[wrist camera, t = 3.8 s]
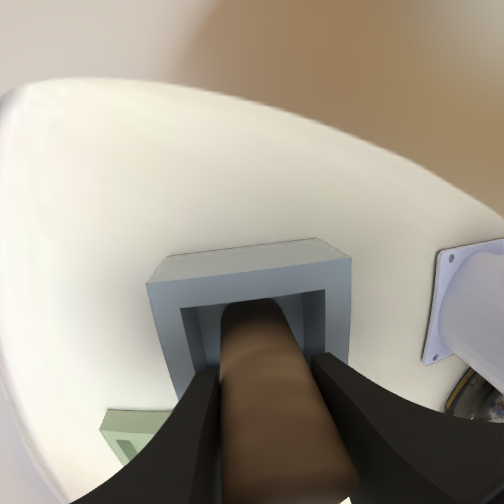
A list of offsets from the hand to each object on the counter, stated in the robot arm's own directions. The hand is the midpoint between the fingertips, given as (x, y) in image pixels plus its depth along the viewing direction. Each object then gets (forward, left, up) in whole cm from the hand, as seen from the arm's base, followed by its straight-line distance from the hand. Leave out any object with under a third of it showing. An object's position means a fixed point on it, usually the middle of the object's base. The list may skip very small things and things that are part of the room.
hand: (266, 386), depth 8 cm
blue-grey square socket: (0, 0, -5) cm, 5 cm away
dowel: (0, 0, -5) cm, 5 cm away
